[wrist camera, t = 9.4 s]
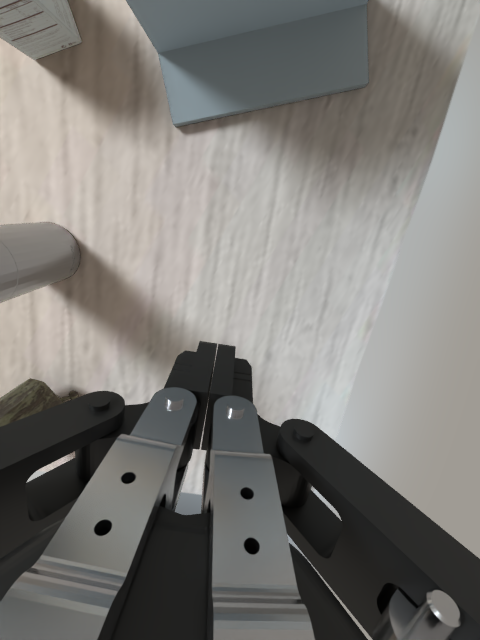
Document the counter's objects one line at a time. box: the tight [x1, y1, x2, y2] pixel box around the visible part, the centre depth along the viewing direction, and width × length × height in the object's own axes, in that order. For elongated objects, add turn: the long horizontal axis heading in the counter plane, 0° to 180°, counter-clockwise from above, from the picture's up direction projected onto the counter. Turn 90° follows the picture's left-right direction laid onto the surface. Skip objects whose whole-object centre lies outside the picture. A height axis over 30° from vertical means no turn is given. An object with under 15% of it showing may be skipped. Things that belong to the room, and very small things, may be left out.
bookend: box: [126, 0, 369, 127], centre depth 30 cm, size 26×10×22 cm, turn 100°
